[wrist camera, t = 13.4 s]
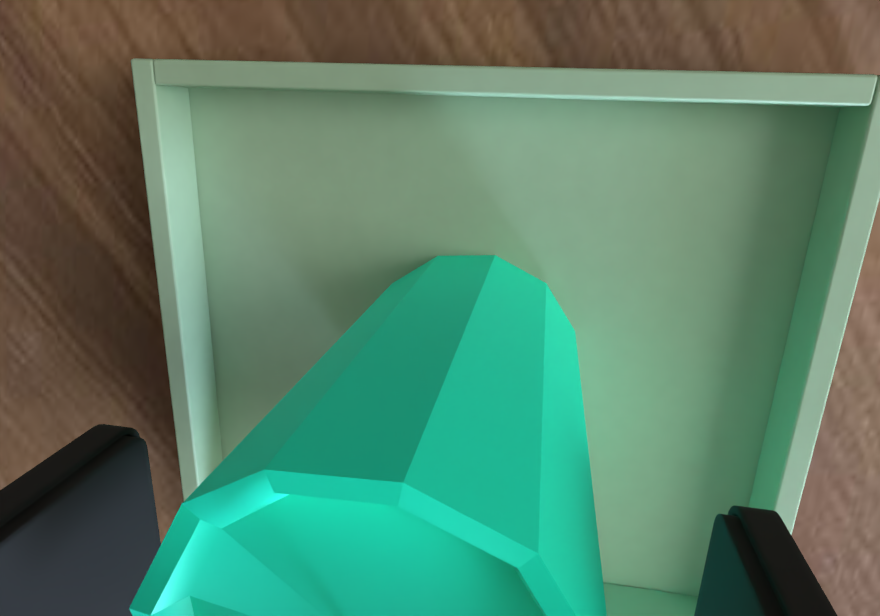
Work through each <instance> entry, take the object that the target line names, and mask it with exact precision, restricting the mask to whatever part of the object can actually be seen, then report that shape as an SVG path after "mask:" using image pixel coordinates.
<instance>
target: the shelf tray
mask: <svg viewBox="0 0 880 616" xmlns="http://www.w3.org/2000/svg"><path fill="white" fill-rule="evenodd" d="M131 66H132V75H133V83H134V91H135V100H136V108H137V117H138V125H139V133H140V142H141V150H142V158H143V167H144V175H145V183H146V192H147V200H148V208H149V217H150V225H151V233H152V242H153V250H154V258H155V267H156V275H157V283H158V292H159V300H160V308H161V317H162V325H163V333H164V342H165V350H166V358H167V367H168V375H169V383H170V392H171V400H172V408H173V417H174V425H175V434H176V442H177V450H178V459H179V467H180V475H181V484H182V492H183V500H184V501H185V500H186V499H187V498H188V497H189V496H190V495H191V494H192V493H193V491H194V490H195V489H196V488H197V487H198V486H199V485H200V484H201V483H202V482H203V481H204V480H205V479H206V478H207V477H208V476H209V475H210V474H211V473H212V472H213V470H214V469H215V468H216V467H217V466H218V465H219V464H220V463H221V462H222V461H223V460H224V459H225V458H226V457H227V456H228V455H229V454H230V453H231V452H232V451H233V450H234V448H235V447H236V446H237V445H238V444H239V443H240V442H241V441H242V440H243V439H244V438H245V437H246V436H247V435H248V434H249V433H250V432H251V431H252V430H253V429H254V428H255V426H256V425H257V424H258V423H259V422H260V421H261V420H262V419H263V418H264V417H265V416H266V415H267V414H268V413H269V412H270V411H271V410H272V409H273V408H274V407H275V406H276V404H277V403H278V402H279V401H280V400H281V399H282V398H283V397H284V396H285V395H286V394H287V393H288V392H289V391H290V390H291V389H292V388H293V387H294V386H295V385H296V384H297V382H298V381H299V380H300V379H301V378H302V377H303V376H304V375H305V374H306V373H307V372H308V371H309V370H310V369H311V368H312V367H313V366H314V365H315V364H316V363H317V362H318V360H319V359H320V358H321V357H322V356H323V355H324V354H325V353H326V352H327V351H328V350H329V349H330V348H331V347H332V346H333V345H334V344H335V343H336V342H337V341H338V339H339V338H340V337H341V336H342V335H343V334H344V333H345V332H346V331H347V330H348V329H349V328H350V327H351V326H352V325H353V324H354V323H355V322H356V321H357V320H358V319H359V317H360V316H361V315H362V314H363V313H364V312H365V311H366V310H367V309H368V308H369V307H370V306H371V305H372V304H373V303H374V302H375V301H376V300H377V299H378V298H379V297H380V295H381V294H382V293H383V292H384V291H385V290H386V289H387V288H388V287H389V286H390V285H391V284H392V283H393V282H395V281H397V280H398V279H400V278H402V277H403V276H405V275H407V274H408V273H410V272H412V271H413V270H415V269H417V268H418V267H420V266H422V265H423V264H425V263H427V262H428V261H430V260H432V259H433V258H435V257H437V256H458V255H496V256H498V257H499V258H501V259H503V260H505V261H507V262H509V263H510V264H512V265H514V266H516V267H518V268H519V269H521V270H523V271H525V272H527V273H529V274H530V275H532V276H534V277H536V278H538V279H539V280H541V281H543V282H545V283H546V284H547V285H548V287H549V289H550V290H551V292H552V294H553V295H554V297H555V299H556V300H557V302H558V304H559V305H560V307H561V309H562V310H563V312H564V313H565V315H566V317H567V318H568V320H569V322H570V323H571V325H572V327H573V328H574V330H575V334H576V343H577V352H578V361H579V370H580V379H581V388H582V397H583V406H584V415H585V424H586V433H587V442H588V451H589V460H590V469H591V478H592V487H593V496H594V505H595V514H596V523H597V532H598V541H599V550H600V558H601V567H602V576H603V585H604V594H605V603H606V612H607V616H694V614H695V609H696V604H697V600H698V595H699V590H700V585H701V581H702V576H703V571H704V567H705V562H706V557H707V552H708V548H709V543H710V538H711V533H712V529H713V524H714V520H715V517H716V516H717V514H726V515H728V511H729V510H730V508H731V507H732V506H734V505H735V506H743V507H751V508H759V509H767V510H773V511H776V512H777V513H778V514H779V515H780V517H781V518H782V520H783V522H784V524H785V525H786V527H787V529H788V531H789V532H790V534H792V531H793V527H794V523H795V519H796V515H797V512H798V508H799V504H800V500H801V496H802V492H803V489H804V485H805V481H806V477H807V473H808V469H809V466H810V462H811V458H812V454H813V450H814V446H815V443H816V439H817V435H818V431H819V427H820V423H821V420H822V416H823V412H824V408H825V404H826V400H827V397H828V393H829V389H830V385H831V381H832V378H833V374H834V370H835V366H836V362H837V358H838V355H839V351H840V347H841V343H842V339H843V335H844V332H845V328H846V324H847V320H848V316H849V312H850V309H851V305H852V301H853V297H854V293H855V289H856V286H857V282H858V278H859V274H860V270H861V267H862V263H863V259H864V255H865V251H866V247H867V244H868V240H869V236H870V232H871V228H872V224H873V221H874V217H875V213H876V209H877V205H878V201H879V198H880V75H874V74H828V73H782V72H736V71H690V70H644V69H597V68H551V67H505V66H459V65H413V64H367V63H321V62H275V61H229V60H183V59H136V58H134V59H132V60H131Z"/></svg>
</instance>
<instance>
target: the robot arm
mask: <svg viewBox="0 0 880 616" xmlns="http://www.w3.org/2000/svg"><path fill="white" fill-rule="evenodd" d="M160 546H161V543H160V536H159V529H158V522H157V515H156V507H155V500H154V493H153V486H152V479H151V472H150V464H149V457H148V450H147V445H146V442H145V441H144V439H142V438H140V436H139V433H138V432H137V431H136V430H135V429H133V428H129V427H121V426H113V425H105V424H100V425H97V426H95V427H93V428H91V429H90V430H88V431H87V432H85V433H84V434H82V435H81V436H80V437H78V438H77V439H75V440H74V441H72V442H71V443H69V444H68V445H66V446H65V447H63V448H62V449H60V450H59V451H58V452H56V453H55V454H53V455H52V456H50V457H49V458H47V459H46V460H44V461H43V462H41V463H40V464H38V465H37V466H36V467H34V468H33V469H31V470H30V471H28V472H27V473H25V474H24V475H22V476H21V477H19V478H18V479H16V480H15V481H14V482H12V483H11V484H9V485H8V486H6V487H5V488H3V489H2V490H0V616H132V614H131V612H130V609H129V607H130V605H131V603H132V601H133V599H134V597H135V595H136V593H137V592H138V590H139V588H140V586H141V584H142V582H143V580H144V578H145V576H146V574H147V572H148V570H149V568H150V566H151V564H152V562H153V560H154V558H155V556H156V554H157V552H158V550H159V548H160ZM694 616H837V614H836V613H835V611H834V609H833V607H832V606H831V604H830V602H829V600H828V599H827V597H826V595H825V593H824V592H823V590H822V588H821V586H820V585H819V583H818V581H817V579H816V578H815V576H814V574H813V573H812V571H811V569H810V567H809V566H808V564H807V562H806V560H805V559H804V557H803V555H802V553H801V552H800V550H799V548H798V546H797V545H796V543H795V541H794V539H793V538H792V536H791V534H790V532H789V531H788V529H787V527H786V525H785V524H784V522H783V520H782V518H781V517H780V515H779V514H778V513H777V512H776V511H773V510H767V509H759V508H751V507H743V506H735V505H734V506H732V507H731V508H730V510H729V511H728V515H726V514H717V516H716V517H715V520H714V524H713V529H712V533H711V538H710V543H709V548H708V552H707V557H706V562H705V567H704V571H703V576H702V581H701V585H700V590H699V595H698V600H697V604H696V609H695V614H694Z"/></svg>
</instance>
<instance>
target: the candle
mask: <svg viewBox="0 0 880 616" xmlns="http://www.w3.org/2000/svg"><path fill="white" fill-rule="evenodd" d="M129 609H130V612H131V614H132V616H607V612H606V603H605V594H604V585H603V576H602V567H601V558H600V550H599V541H598V532H597V523H596V514H595V505H594V496H593V487H592V478H591V469H590V460H589V451H588V442H587V433H586V424H585V415H584V406H583V397H582V388H581V379H580V370H579V361H578V352H577V343H576V334H575V330H574V328H573V327H572V325H571V323H570V322H569V320H568V318H567V317H566V315H565V313H564V312H563V310H562V309H561V307H560V305H559V304H558V302H557V300H556V299H555V297H554V295H553V294H552V292H551V290H550V289H549V287H548V285H547V284H546V283H545V282H543V281H541V280H539V279H538V278H536V277H534V276H532V275H530V274H529V273H527V272H525V271H523V270H521V269H519V268H518V267H516V266H514V265H512V264H510V263H509V262H507V261H505V260H503V259H501V258H499V257H498V256H496V255H458V256H437V257H435V258H433V259H432V260H430V261H428V262H427V263H425V264H423V265H422V266H420V267H418V268H417V269H415V270H413V271H412V272H410V273H408V274H407V275H405V276H403V277H402V278H400V279H398V280H397V281H395V282H393V283H392V284H391V285H390V286H389V287H388V288H387V289H386V290H385V291H384V292H383V293H382V294H381V295H380V297H379V298H378V299H377V300H376V301H375V302H374V303H373V304H372V305H371V306H370V307H369V308H368V309H367V310H366V311H365V312H364V313H363V314H362V315H361V316H360V317H359V319H358V320H357V321H356V322H355V323H354V324H353V325H352V326H351V327H350V328H349V329H348V330H347V331H346V332H345V333H344V334H343V335H342V336H341V337H340V338H339V339H338V341H337V342H336V343H335V344H334V345H333V346H332V347H331V348H330V349H329V350H328V351H327V352H326V353H325V354H324V355H323V356H322V357H321V358H320V359H319V360H318V362H317V363H316V364H315V365H314V366H313V367H312V368H311V369H310V370H309V371H308V372H307V373H306V374H305V375H304V376H303V377H302V378H301V379H300V380H299V381H298V382H297V384H296V385H295V386H294V387H293V388H292V389H291V390H290V391H289V392H288V393H287V394H286V395H285V396H284V397H283V398H282V399H281V400H280V401H279V402H278V403H277V404H276V406H275V407H274V408H273V409H272V410H271V411H270V412H269V413H268V414H267V415H266V416H265V417H264V418H263V419H262V420H261V421H260V422H259V423H258V424H257V425H256V426H255V428H254V429H253V430H252V431H251V432H250V433H249V434H248V435H247V436H246V437H245V438H244V439H243V440H242V441H241V442H240V443H239V444H238V445H237V446H236V447H235V448H234V450H233V451H232V452H231V453H230V454H229V455H228V456H227V457H226V458H225V459H224V460H223V461H222V462H221V463H220V464H219V465H218V466H217V467H216V468H215V469H214V470H213V472H212V473H211V474H210V475H209V476H208V477H207V478H206V479H205V480H204V481H203V482H202V483H201V484H200V485H199V486H198V487H197V488H196V489H195V490H194V491H193V493H192V494H191V495H190V496H189V497H188V498H187V499H186V500H185V501H184V502H183V503H182V504H181V506H180V508H179V510H178V512H177V514H176V516H175V518H174V520H173V522H172V524H171V526H170V528H169V530H168V532H167V534H166V536H165V538H164V540H163V542H162V544H161V546H160V548H159V550H158V552H157V554H156V556H155V558H154V560H153V562H152V564H151V566H150V568H149V570H148V572H147V574H146V576H145V578H144V580H143V582H142V584H141V586H140V588H139V590H138V592H137V593H136V595H135V597H134V599H133V601H132V603H131V605H130V607H129Z"/></svg>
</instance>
